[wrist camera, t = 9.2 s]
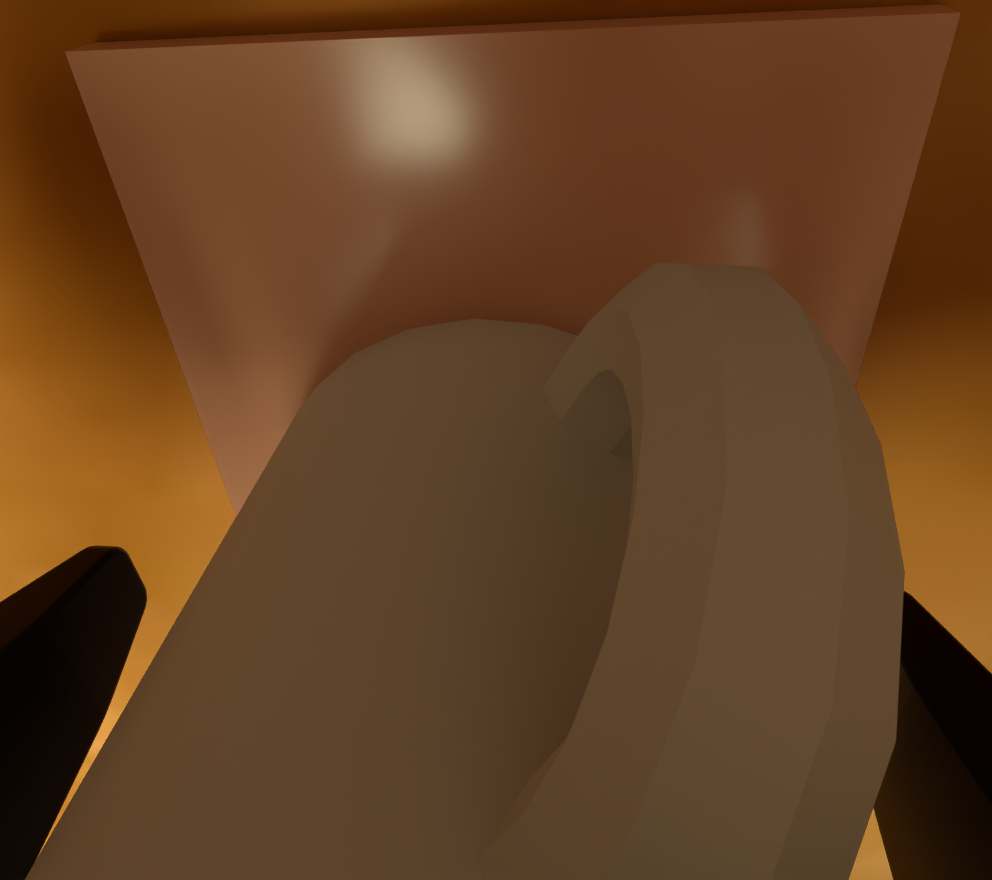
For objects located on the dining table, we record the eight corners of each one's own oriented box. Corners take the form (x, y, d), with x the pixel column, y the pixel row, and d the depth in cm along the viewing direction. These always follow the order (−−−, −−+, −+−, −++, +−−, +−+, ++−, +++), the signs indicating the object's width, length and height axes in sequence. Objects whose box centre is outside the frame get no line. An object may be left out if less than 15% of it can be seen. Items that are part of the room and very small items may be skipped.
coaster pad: (770, 643, 15) (775, 669, 14) (289, 612, 16) (279, 634, 16) (940, 3, 8) (961, 11, 8) (92, 42, 9) (65, 51, 9)
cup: (252, 548, 14) (-113, 1233, 7) (442, -14, 8) (-794, 852, 1) (591, 678, 15) (570, 1380, 8) (980, 273, 9) (2197, 1618, 2)
